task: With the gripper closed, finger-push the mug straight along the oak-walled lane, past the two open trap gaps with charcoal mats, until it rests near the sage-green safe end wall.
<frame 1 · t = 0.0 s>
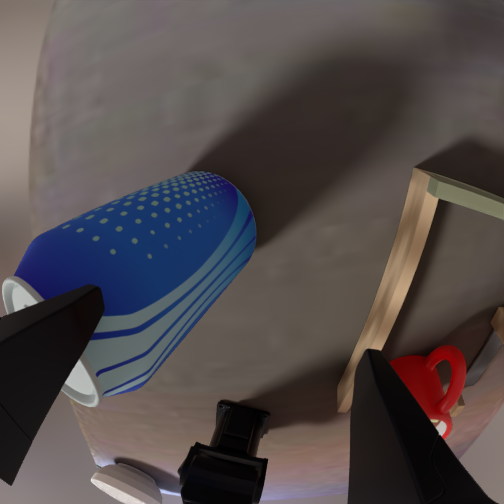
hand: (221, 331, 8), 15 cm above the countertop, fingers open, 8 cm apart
trap box: (445, 311, 23), on the countertop
mug: (413, 367, 27), on the countertop
beer can: (212, 220, 24), on the countertop, touching gripper
bowl: (136, 473, 58), on the countertop
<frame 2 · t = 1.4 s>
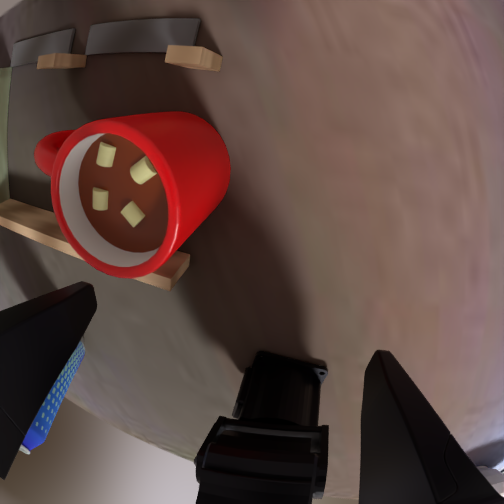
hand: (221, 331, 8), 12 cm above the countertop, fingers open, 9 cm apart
trap box: (72, 146, 20), on the countertop
mug: (150, 157, 20), on the countertop
beer can: (61, 327, 30), on the countertop
bowl: (462, 476, 35), on the countertop
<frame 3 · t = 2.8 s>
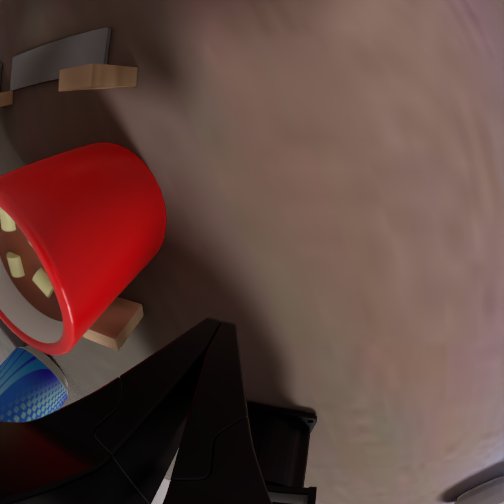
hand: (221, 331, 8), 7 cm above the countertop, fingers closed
trap box: (14, 190, 17), on the countertop
mug: (83, 198, 16), on the countertop
beer can: (46, 366, 28), on the countertop
bowl: (482, 487, 28), on the countertop
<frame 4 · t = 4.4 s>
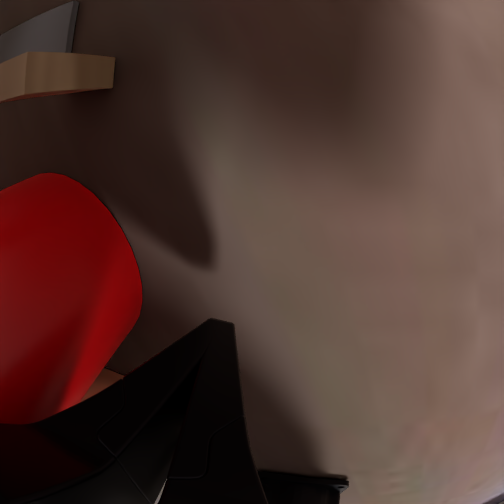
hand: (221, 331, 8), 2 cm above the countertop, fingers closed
mug: (37, 245, 11), on the countertop, touching gripper
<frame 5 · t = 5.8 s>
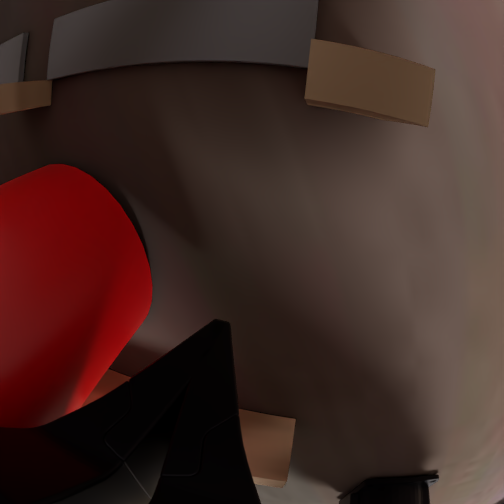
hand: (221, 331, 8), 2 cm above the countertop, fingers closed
trap box: (57, 258, 11), on the countertop
mug: (44, 237, 11), on the countertop, touching gripper
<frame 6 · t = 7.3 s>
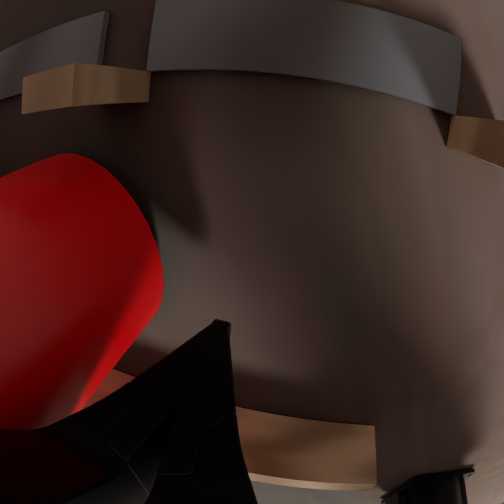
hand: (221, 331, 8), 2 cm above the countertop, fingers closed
trap box: (139, 279, 11), on the countertop
mug: (53, 226, 11), on the countertop, touching gripper, trap box
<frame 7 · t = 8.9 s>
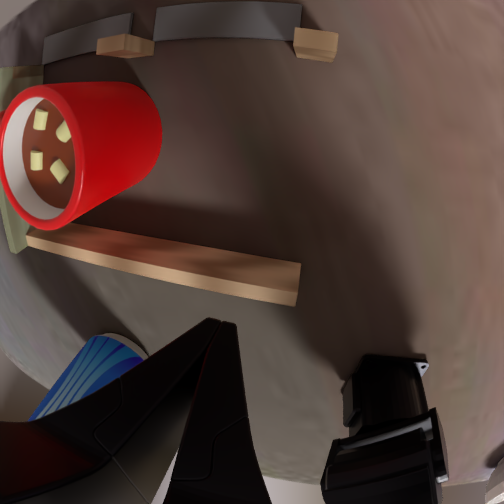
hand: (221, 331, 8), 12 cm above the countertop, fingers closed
trap box: (142, 149, 19), on the countertop
mug: (95, 127, 19), on the countertop
beer can: (126, 355, 30), on the countertop
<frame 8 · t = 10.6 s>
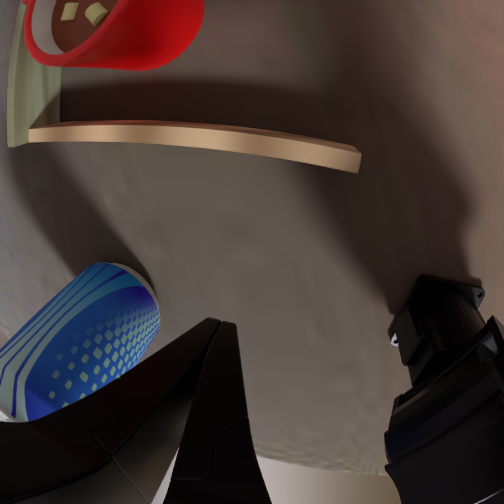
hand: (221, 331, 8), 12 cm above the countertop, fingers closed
trap box: (179, 27, 15), on the countertop
mug: (128, 15, 15), on the countertop
beer can: (126, 295, 26), on the countertop
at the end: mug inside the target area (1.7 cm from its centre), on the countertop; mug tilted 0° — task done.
